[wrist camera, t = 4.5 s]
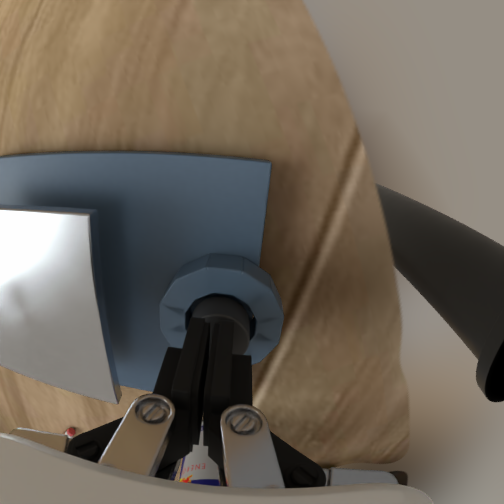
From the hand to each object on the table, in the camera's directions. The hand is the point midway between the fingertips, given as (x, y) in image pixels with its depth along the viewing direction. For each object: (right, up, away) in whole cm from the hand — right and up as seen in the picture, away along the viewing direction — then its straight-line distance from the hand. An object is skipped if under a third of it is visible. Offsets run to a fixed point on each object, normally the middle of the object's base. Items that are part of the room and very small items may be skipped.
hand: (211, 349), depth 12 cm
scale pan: (-9, +1, +1) cm, 9 cm away
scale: (-6, +2, +4) cm, 8 cm away
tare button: (0, +1, +2) cm, 2 cm away
